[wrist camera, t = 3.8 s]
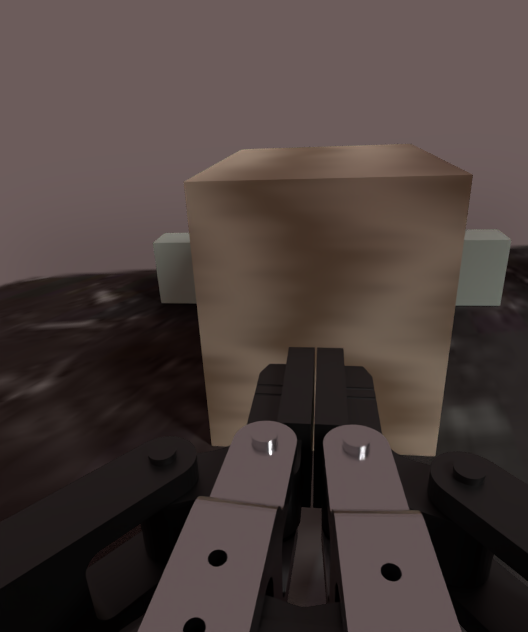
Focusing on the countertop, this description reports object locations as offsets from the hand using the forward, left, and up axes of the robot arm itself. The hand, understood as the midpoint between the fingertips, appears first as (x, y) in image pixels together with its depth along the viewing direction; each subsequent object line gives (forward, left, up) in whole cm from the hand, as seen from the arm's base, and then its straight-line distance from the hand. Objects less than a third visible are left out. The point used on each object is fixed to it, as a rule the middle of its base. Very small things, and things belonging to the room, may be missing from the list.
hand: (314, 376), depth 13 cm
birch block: (0, -12, -7) cm, 14 cm away
